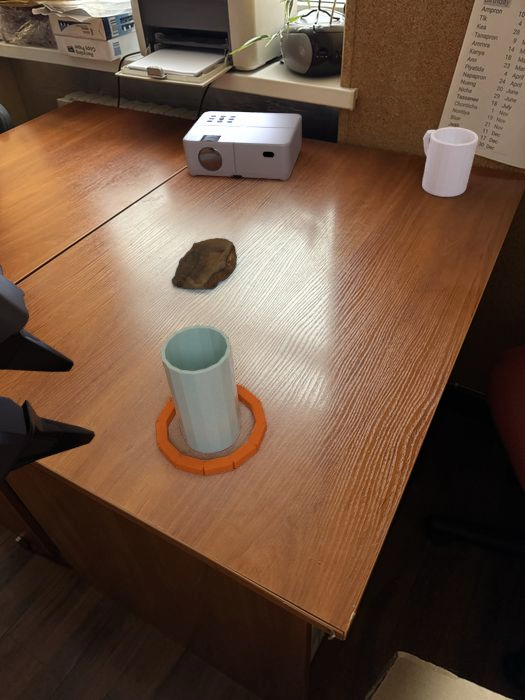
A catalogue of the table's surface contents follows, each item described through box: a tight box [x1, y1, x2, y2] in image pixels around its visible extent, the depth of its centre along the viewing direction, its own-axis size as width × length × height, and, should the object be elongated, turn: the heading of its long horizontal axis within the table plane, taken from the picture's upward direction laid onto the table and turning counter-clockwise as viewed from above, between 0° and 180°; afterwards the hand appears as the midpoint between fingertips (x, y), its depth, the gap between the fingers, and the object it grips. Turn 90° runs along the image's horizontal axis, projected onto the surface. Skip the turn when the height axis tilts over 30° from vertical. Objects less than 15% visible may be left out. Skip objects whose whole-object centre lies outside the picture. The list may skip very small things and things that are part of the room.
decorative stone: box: [171, 237, 238, 290], centre depth 79 cm, size 10×9×4 cm
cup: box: [160, 324, 242, 454], centre depth 54 cm, size 7×7×13 cm
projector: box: [182, 111, 303, 182], centre depth 106 cm, size 17×22×8 cm
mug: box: [421, 126, 479, 198], centre depth 95 cm, size 8×12×10 cm
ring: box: [155, 383, 268, 477], centre depth 58 cm, size 12×12×1 cm
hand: (81, 399), depth 44 cm, fingers open, 9 cm apart
